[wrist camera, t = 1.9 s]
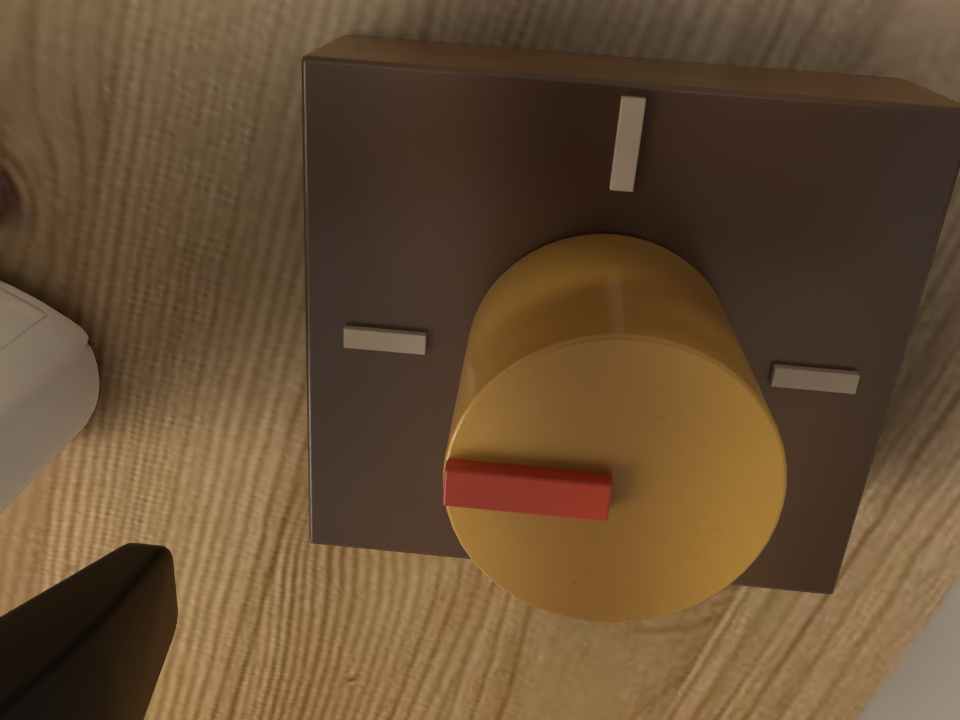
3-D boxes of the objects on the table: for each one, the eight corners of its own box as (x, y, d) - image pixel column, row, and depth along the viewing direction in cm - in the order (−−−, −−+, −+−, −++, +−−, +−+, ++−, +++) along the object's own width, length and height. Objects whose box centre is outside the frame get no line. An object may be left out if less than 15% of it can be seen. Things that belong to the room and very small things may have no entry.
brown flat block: (906, 78, 16) (984, 111, 13) (795, 505, 20) (836, 602, 17) (341, 33, 16) (297, 56, 13) (341, 461, 20) (306, 550, 17)
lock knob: (755, 245, 14) (831, 363, 10) (706, 480, 16) (755, 655, 12) (476, 221, 14) (448, 328, 11) (459, 457, 16) (431, 622, 12)
